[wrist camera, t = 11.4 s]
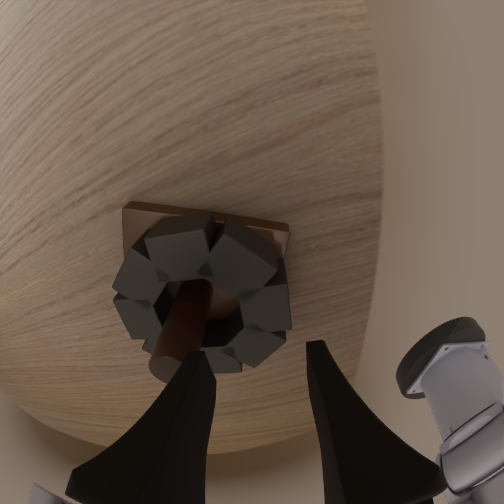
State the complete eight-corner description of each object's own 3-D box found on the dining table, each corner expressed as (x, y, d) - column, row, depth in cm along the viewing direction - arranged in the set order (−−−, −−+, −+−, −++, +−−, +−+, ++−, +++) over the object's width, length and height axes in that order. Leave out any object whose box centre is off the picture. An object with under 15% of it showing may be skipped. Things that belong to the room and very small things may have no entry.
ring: (160, 348, 18) (151, 373, 16) (110, 229, 14) (89, 247, 12) (291, 340, 17) (295, 367, 15) (276, 201, 13) (280, 218, 11)
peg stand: (288, 223, 15) (309, 306, 9) (259, 341, 19) (258, 431, 13) (130, 201, 15) (55, 261, 8) (137, 320, 19) (100, 398, 12)
